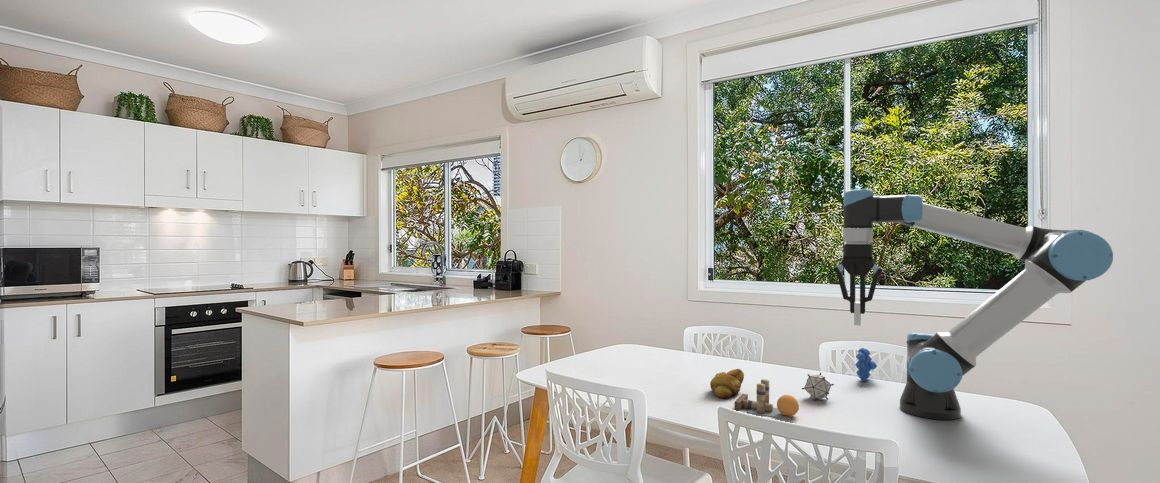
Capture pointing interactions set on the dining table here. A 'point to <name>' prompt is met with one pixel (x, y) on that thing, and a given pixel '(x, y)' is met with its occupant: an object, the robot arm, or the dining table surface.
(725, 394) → the bread roll
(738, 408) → the backstop
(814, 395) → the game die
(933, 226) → the robot arm
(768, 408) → the front pin
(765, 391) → the pin
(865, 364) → the grapes
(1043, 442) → the dining table surface
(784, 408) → the ball
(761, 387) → the pin
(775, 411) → the pin deck
